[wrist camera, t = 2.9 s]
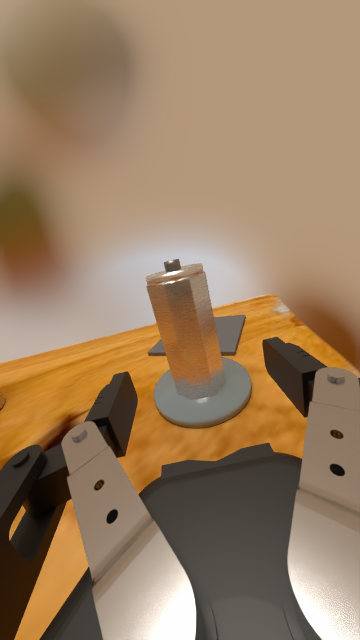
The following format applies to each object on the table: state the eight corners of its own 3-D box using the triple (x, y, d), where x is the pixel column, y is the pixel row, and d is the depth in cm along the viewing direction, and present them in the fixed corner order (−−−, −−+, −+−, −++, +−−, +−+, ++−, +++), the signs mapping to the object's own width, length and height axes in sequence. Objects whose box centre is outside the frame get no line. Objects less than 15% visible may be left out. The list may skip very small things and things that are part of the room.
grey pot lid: (137, 419, 23) (129, 398, 22) (177, 361, 33) (173, 345, 32) (246, 437, 18) (241, 411, 17) (254, 362, 28) (252, 343, 27)
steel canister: (177, 403, 23) (138, 269, 18) (176, 373, 28) (146, 266, 24) (230, 392, 22) (204, 253, 18) (218, 364, 28) (196, 253, 24)
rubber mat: (148, 355, 38) (147, 352, 38) (180, 322, 52) (179, 320, 52) (234, 355, 31) (234, 351, 31) (245, 317, 45) (245, 314, 45)
